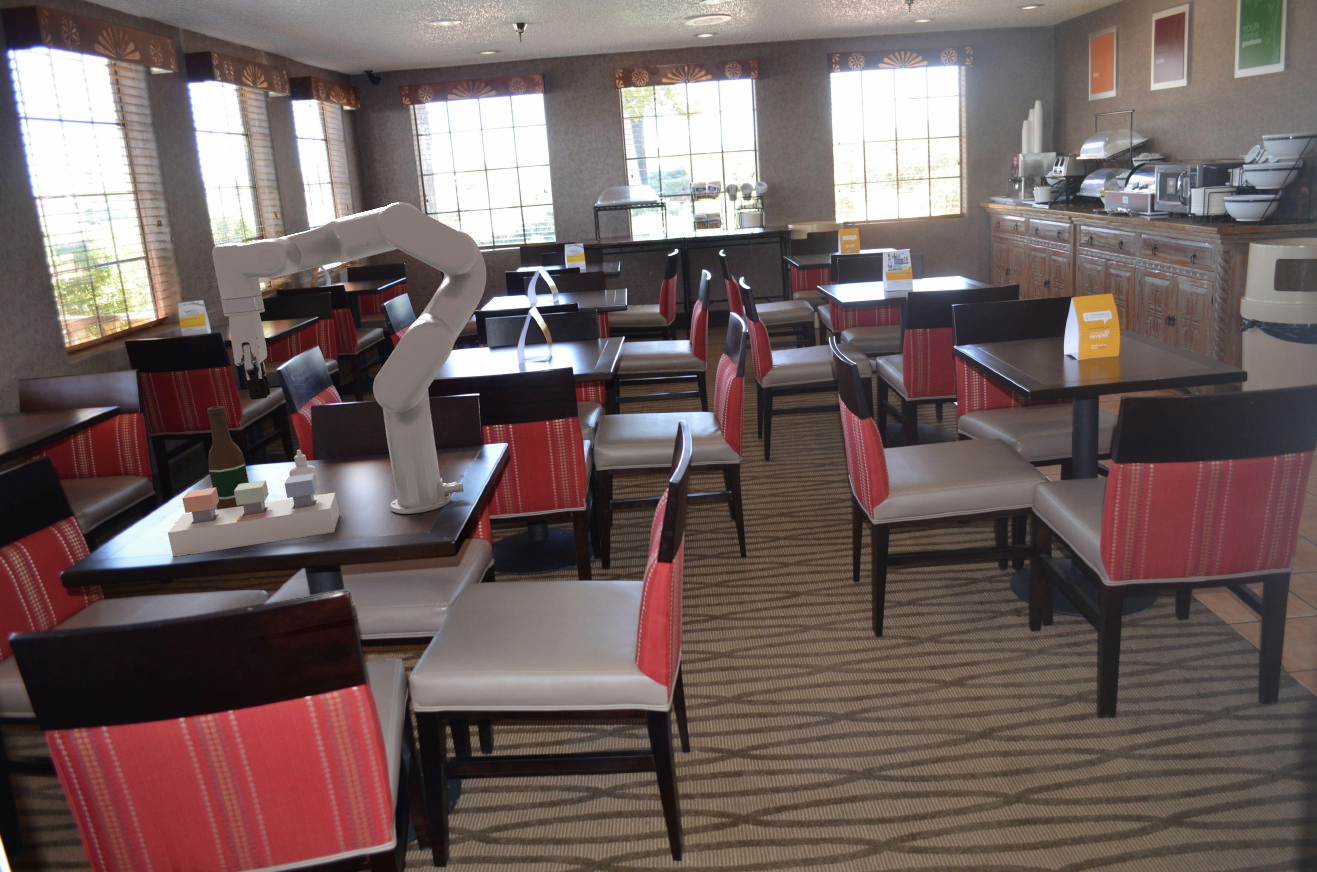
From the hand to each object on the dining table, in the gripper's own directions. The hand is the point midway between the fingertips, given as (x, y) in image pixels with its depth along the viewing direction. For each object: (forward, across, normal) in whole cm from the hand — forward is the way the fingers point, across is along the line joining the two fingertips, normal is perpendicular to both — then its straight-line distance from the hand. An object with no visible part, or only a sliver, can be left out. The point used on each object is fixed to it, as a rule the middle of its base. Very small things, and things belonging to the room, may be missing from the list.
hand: (260, 396), depth 193 cm
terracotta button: (+25, +6, -13) cm, 29 cm away
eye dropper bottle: (+27, -15, +3) cm, 31 cm away
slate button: (+25, +6, +5) cm, 26 cm away
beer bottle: (+27, -14, -12) cm, 33 cm away
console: (+27, +6, -4) cm, 28 cm away
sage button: (+25, +6, -4) cm, 26 cm away
